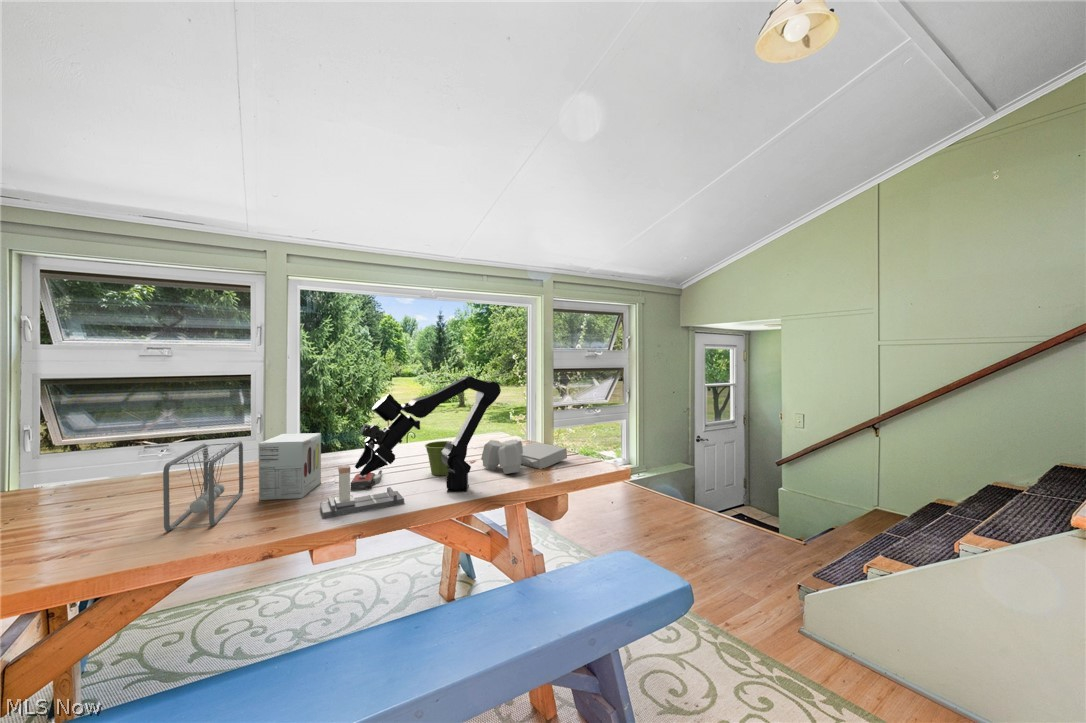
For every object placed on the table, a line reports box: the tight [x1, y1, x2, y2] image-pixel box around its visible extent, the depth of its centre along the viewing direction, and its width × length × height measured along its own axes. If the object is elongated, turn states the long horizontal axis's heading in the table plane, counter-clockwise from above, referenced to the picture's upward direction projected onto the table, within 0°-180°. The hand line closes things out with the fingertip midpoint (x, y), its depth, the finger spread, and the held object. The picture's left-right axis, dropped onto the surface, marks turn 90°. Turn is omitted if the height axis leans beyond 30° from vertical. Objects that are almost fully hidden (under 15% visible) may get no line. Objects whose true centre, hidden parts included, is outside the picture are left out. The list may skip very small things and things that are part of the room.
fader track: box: [319, 486, 405, 519], centre depth 128 cm, size 22×9×3 cm, turn 122°
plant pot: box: [424, 440, 453, 476], centre depth 164 cm, size 12×12×11 cm
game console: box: [480, 439, 568, 475], centre depth 175 cm, size 20×32×13 cm, turn 136°
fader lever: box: [333, 464, 355, 508], centre depth 125 cm, size 5×6×11 cm
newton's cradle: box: [162, 440, 244, 532], centre depth 124 cm, size 30×10×18 cm, turn 23°
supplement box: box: [258, 432, 322, 501], centre depth 142 cm, size 17×13×18 cm
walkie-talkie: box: [350, 469, 383, 491], centre depth 153 cm, size 9×4×20 cm
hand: (358, 471), depth 127 cm, fingers open, 9 cm apart
